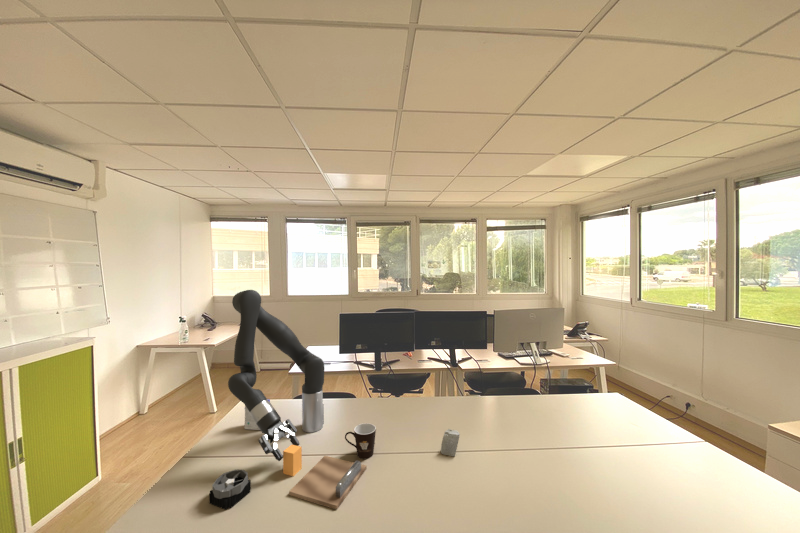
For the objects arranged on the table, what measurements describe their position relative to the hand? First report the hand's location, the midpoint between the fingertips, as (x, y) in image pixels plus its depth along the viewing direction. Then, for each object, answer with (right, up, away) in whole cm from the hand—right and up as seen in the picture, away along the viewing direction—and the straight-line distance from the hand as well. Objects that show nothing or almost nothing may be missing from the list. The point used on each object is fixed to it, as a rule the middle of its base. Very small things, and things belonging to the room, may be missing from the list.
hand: (289, 452), depth 110 cm
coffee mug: (+25, -7, +10) cm, 28 cm away
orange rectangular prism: (+1, -7, 0) cm, 7 cm away
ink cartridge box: (-27, -8, +31) cm, 42 cm away
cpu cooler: (-15, -7, -12) cm, 20 cm away
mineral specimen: (+61, -6, +11) cm, 62 cm away
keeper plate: (+16, -6, -6) cm, 18 cm away
